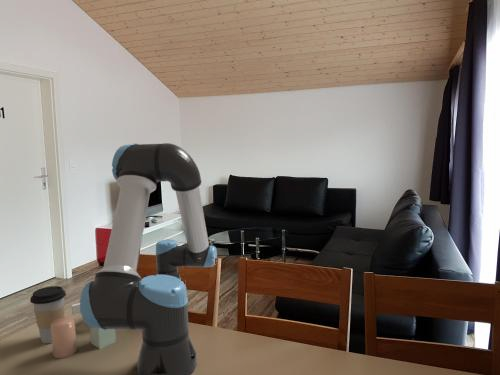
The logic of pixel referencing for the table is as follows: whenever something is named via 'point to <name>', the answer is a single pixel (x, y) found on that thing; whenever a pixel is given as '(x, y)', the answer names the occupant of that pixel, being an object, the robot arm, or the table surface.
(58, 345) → the peach rounded cylinder
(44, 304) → the coffee cup
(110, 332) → the sage tin
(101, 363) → the table surface
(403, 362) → the table surface
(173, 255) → the robot arm
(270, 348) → the table surface
